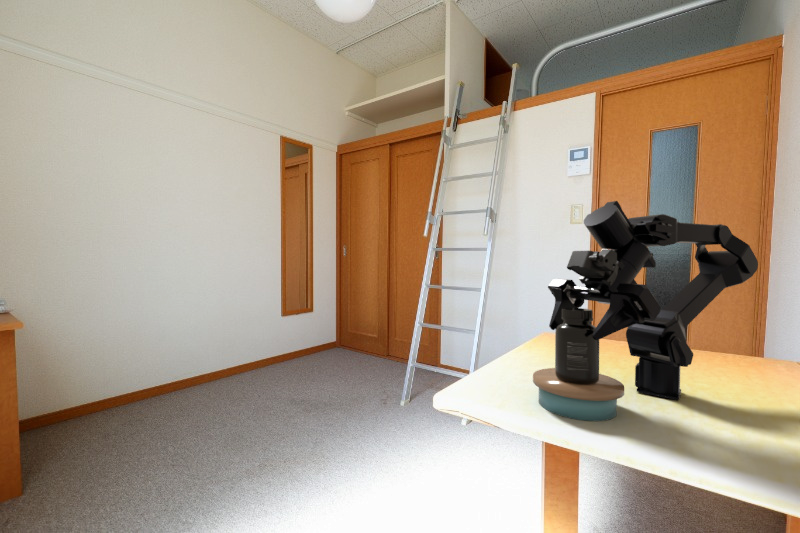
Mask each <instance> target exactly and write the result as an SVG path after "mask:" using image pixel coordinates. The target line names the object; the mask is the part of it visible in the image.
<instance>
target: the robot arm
mask: <svg viewBox="0 0 800 533" xmlns="http://www.w3.org/2000/svg"><path fill="white" fill-rule="evenodd" d="M583 224H584V226H585V228H586V229H587V231H588V232H589V234H590V235H591V236H592V237H593V239H594V240H595V242H596V244H598V246H599V247H600V248H601V249H602V250H600V251H598V250H597V251H595V250H594V251H593V250H573V251H572V252H571V255H570V258H569V260H568V263H567V264H566V265H567V266H566V269H567V270H569V271H573V272H574V273H575V274H577V275H579V277H578V280H579V282H580V283H581V284H582V285H585V286H584V287H581V286H580V287H579V286H577V284H576V283H575V282H574V280H573V279H564V278H562V279H561V278H553V279H552V280H551V282H550V283H549V284H548V285H547V288H548V290H549V291H550V292H551V294H552V295H553V297H554V306H553V311H552V315H551V317H550V321H549V326H548V327H549V328H550V330H552V331H556V327H557V326H558V325H559V324H561V323H563V319H561V316H562V309H563V308H581V307H582V306H583V305H584V304H585V301H592V302H597V303H598V304H603V305H609V306H608V309H607V311H606V312H605V314H604V315H603V317H602V318H601V319H600V321H599V322H598V324H597V325H596V326H595V327H596V328H595V330H594V332H593V334H592V337H593V338H594V340H599V341H600V340H601V339H603V338H605V337H608V336H610V335H612V334H614V333H616V332H619V331H621V330H624V329H625V328H627V329H626V331H625V338H626V342H627V345H628V350H629V355H630V356H633V357H637V358H638V363H636V365H635V368H634V371H635V373H634V374H635V376H634V386H635V387H636V393H640V394H645V395H650V396H655V397H658V398H659V397H660V398H666V399H670V400H675V401H679V400H680V397H681V393H682V389H681V367H686V368H687V367H689V366H691V364H692V361H693V358H694V352H693V351H692V349H691V347H690V346H689V344H688V343H687V342H686V341H687V338H686V337H687V335H686V328H687V327H688V325H690V324H691V322H692V321H693V320H694V319H696V318H697V316H699V314H700V313H702V312H703V310H705V309H706V307H708V306H709V305H710V303H712V302H713V301H714V299H716V298H717V296H719V294H721V293H722V292H723V291H724V290H725V289H726V288H730V287H735V286H738V285H740V284H743V283H745V282H746V281H748V280H749V279H751V278H752V277H753V276H754V274H756V272H757V271H758V268H759V262H758V259H757V257H756V255H755V253H754V251H753V249H752V248H751V246H750V245H749V244H748V243H746V241H744V240H742V239H740V238H739V237H737V236H735V235H734V234H733V233H732V231H731V230H730V228H729V226H727V225H725V224H722V223H721V224H719V223H718V224H705V223H692V222H691V223H689V222H680V221H678V219H677V218H676V217H674V216H670V215H667V214H664V213H662V214H652V215H643V216H635V217H629V218H628V216H627V215H626V214H625V212H624V211H623V208H622V206H621V205H620V203H619V201H618V200H614V201H607V202H606V203H605V204H604V206H600V207H598V208H597V209H594V210H593V211H592V212H591V213H588V214H587V215H586V216H585V218H584V219H583ZM674 244H693V245H694V244H695V246H696V251H695V254H694V259H695V261H696V263H697V264H698V265H697V266H698V270H699V271H698V272H699V273H698V274H697V275H696V276H695V277H694V278H692V280H691V281H690V282H688V283H687V284H686V285H685V286H684V287H683V288H682V289H681V290H680V291H679V292H678V293H677V294H675V295H674V297H672V298H671V299H670V301H669V302H667V303H666V304H665V305H664V306H663V307H662V308H661V305H660V302H658V300H657V299H656V297H655V296H654V294H653V293H652V292H651V290H650V289H649V287H648V286H647V284H639V283H638V282H637V281H636V280H635V279H636V277H637V276H638V274H639V273H640V272H641V270H642V269H643V268H644V269H646V268H649V269H651V268H652V269H655V268H656V267H657V265H656V264H657V263H656V260H655V258H654V253H653V252H651V250H650V249H649V247H650V248H651V247H653V248H654V247H667V246H672V245H674ZM711 245H712V246H713V245H714V246H715V245H720V246H721V248H723V249H724V250H718V251H716V250H713V251H712V250H710V251H709V250H708V249H707V247H706V246H711Z"/></svg>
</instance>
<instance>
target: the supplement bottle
mask: <svg viewBox="0 0 800 533" xmlns="http://www.w3.org/2000/svg"><path fill="white" fill-rule="evenodd" d="M593 315H594V313H593V309H590V308H581V307H579V308H563V309H562V316H561V319H563V323H561V324H559V325H558V326H557V327H556V329H555V336H554V340H555V342H554V343H555V344H554V348H555V349H554V350H555V351H554V352H555V354H554V356H555V357H554V358H555V359H554V360H555V362H554V364H555V365H554V366H555V367H554V368H555V374H556V377H557V378H558V379H560V380H562V381H565V382H569V383H574V384H595V383H597V382H598V380H599V374H600V339H599V340H594V338H593V337H592V334H593V332H594V330H595V328H596V327H597V326H595V325H593V324H592V322H594V318H593Z"/></svg>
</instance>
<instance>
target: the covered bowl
mask: <svg viewBox="0 0 800 533" xmlns="http://www.w3.org/2000/svg"><path fill="white" fill-rule="evenodd" d="M532 383H533V385H534V386H536V387H537V388H538V403H539V404H538V405H539V406H541V407H542V408H543V409H545V410H547V411H548V412H550V413H553V414H555V415H558V416H562V417H565V418H569V419H573V420H579V421H587V422H588V421H589V422H602V421H608V420H612V419H614V418H616V416H617V412H618V410H617V409H618V408H617V407H618V403H617V402H618V400H619V399H621V398H622V397H624V395H625V385H624V384H623V383H622V382H621V381H620V380H618V379H616V378H613V377H611V376H608V375H605V374H602V373H599V380H598V382H597V383H595V384H574V383H569V382H565V381H562V380H560V379H558V378H557V377H556V374H555V367H552V368H548V367H547V368H542V369H538V370H535V371H534V372H533V374H532Z"/></svg>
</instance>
